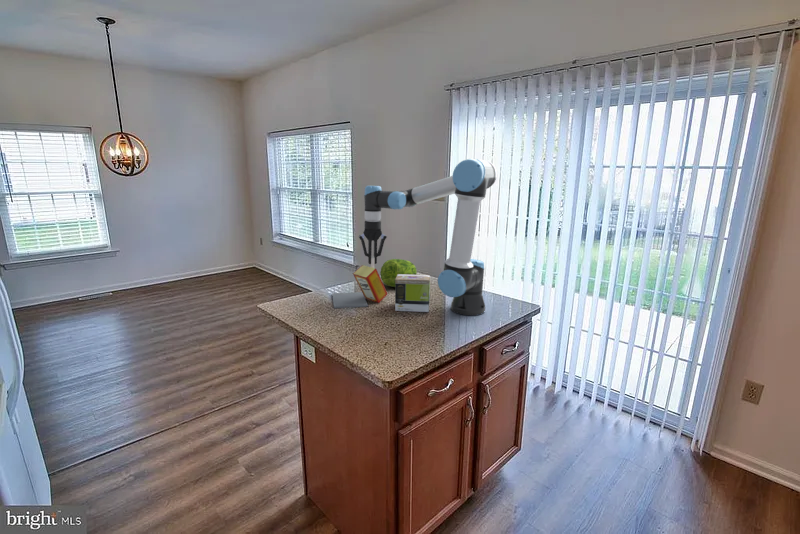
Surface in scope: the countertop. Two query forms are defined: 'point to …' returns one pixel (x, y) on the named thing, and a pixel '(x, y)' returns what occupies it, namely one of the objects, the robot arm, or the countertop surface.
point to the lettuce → (396, 270)
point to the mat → (349, 300)
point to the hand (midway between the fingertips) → (372, 270)
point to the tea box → (412, 292)
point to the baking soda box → (370, 283)
